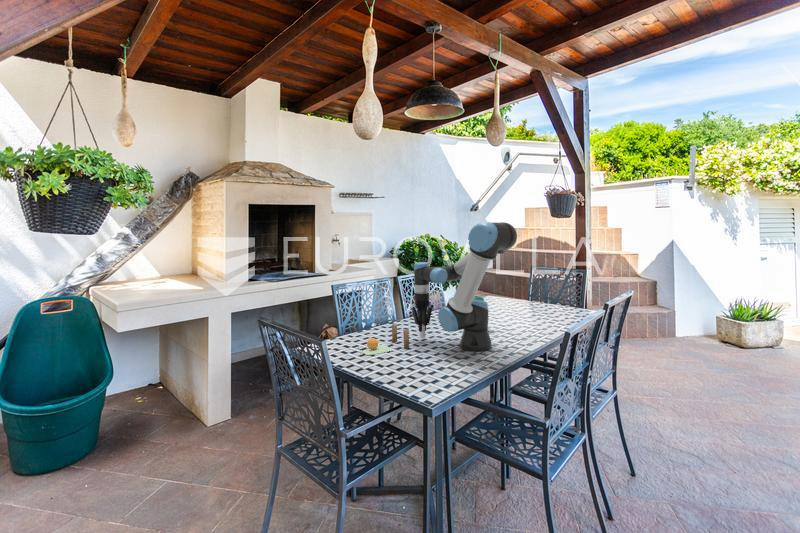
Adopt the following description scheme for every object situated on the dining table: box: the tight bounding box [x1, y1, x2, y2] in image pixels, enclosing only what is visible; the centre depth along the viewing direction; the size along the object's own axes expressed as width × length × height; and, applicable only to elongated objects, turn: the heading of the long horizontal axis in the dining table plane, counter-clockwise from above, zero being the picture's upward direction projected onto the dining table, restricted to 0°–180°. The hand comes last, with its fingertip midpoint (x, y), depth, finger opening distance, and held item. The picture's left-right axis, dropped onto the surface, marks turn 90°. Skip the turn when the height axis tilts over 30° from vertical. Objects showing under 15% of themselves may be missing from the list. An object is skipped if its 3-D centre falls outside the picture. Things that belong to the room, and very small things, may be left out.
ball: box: [366, 337, 379, 350], centre depth 185 cm, size 6×6×6 cm
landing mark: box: [360, 343, 395, 356], centre depth 185 cm, size 14×14×1 cm
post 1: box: [391, 323, 398, 343], centre depth 197 cm, size 3×3×9 cm
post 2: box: [403, 328, 410, 350], centre depth 186 cm, size 3×3×9 cm
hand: (422, 337), depth 198 cm, fingers closed
